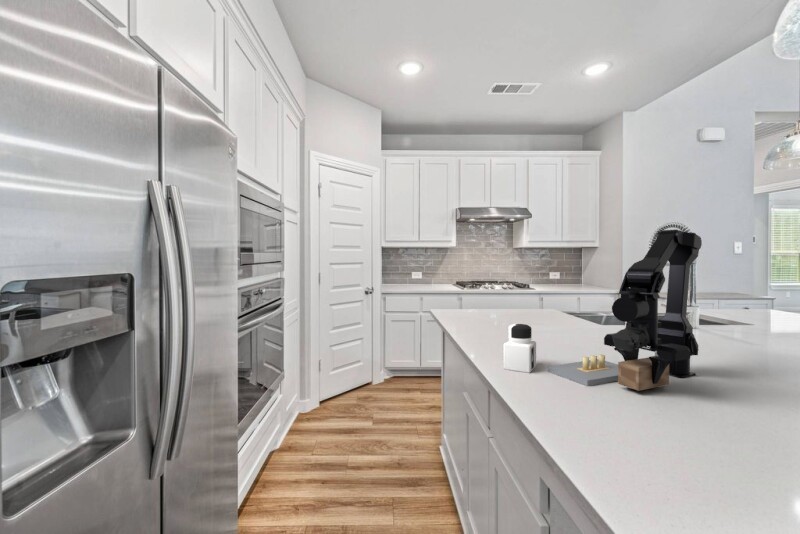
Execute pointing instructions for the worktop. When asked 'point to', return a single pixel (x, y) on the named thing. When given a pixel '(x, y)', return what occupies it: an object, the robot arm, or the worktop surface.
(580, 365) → the pin board
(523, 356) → the container
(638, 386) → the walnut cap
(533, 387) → the worktop surface
